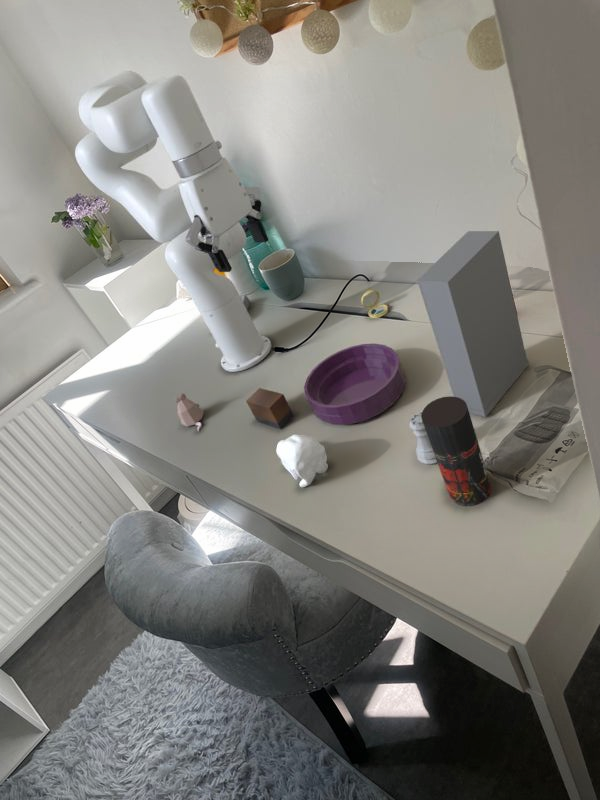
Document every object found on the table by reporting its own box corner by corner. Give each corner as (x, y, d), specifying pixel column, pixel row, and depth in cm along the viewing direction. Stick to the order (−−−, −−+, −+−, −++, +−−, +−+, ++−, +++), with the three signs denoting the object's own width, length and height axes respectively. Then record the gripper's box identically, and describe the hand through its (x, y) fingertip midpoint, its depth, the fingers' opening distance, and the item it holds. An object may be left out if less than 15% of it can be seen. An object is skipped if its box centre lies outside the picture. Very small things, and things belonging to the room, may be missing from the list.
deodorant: (443, 483, 90) (416, 406, 82) (482, 469, 89) (459, 390, 81) (456, 511, 85) (428, 433, 77) (497, 497, 84) (473, 416, 76)
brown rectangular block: (257, 421, 121) (245, 400, 118) (270, 408, 122) (259, 387, 119) (280, 429, 116) (269, 407, 113) (294, 415, 117) (283, 393, 114)
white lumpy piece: (287, 457, 94) (254, 435, 104) (310, 496, 98) (276, 471, 108) (319, 432, 96) (282, 413, 106) (340, 472, 100) (303, 449, 110)
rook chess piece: (440, 467, 92) (426, 429, 88) (413, 464, 95) (398, 426, 91) (450, 446, 95) (437, 408, 91) (423, 444, 98) (410, 406, 93)
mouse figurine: (188, 437, 126) (172, 413, 122) (180, 419, 132) (165, 396, 129) (210, 425, 126) (194, 400, 123) (201, 407, 133) (187, 384, 129)
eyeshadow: (374, 320, 133) (367, 301, 131) (364, 313, 138) (357, 294, 135) (391, 310, 134) (385, 291, 131) (381, 303, 138) (374, 285, 135)
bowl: (295, 416, 117) (285, 396, 114) (351, 358, 125) (343, 338, 123) (368, 437, 104) (358, 415, 101) (425, 371, 112) (418, 349, 110)
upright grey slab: (496, 359, 107) (464, 230, 93) (529, 365, 103) (500, 230, 89) (453, 410, 101) (411, 280, 88) (486, 418, 97) (447, 283, 83)
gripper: (220, 141, 105) (262, 231, 114) (146, 189, 97) (197, 283, 106) (248, 134, 100) (289, 229, 109) (172, 185, 91) (224, 283, 101)
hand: (244, 256), depth 107 cm, fingers open, 9 cm apart
